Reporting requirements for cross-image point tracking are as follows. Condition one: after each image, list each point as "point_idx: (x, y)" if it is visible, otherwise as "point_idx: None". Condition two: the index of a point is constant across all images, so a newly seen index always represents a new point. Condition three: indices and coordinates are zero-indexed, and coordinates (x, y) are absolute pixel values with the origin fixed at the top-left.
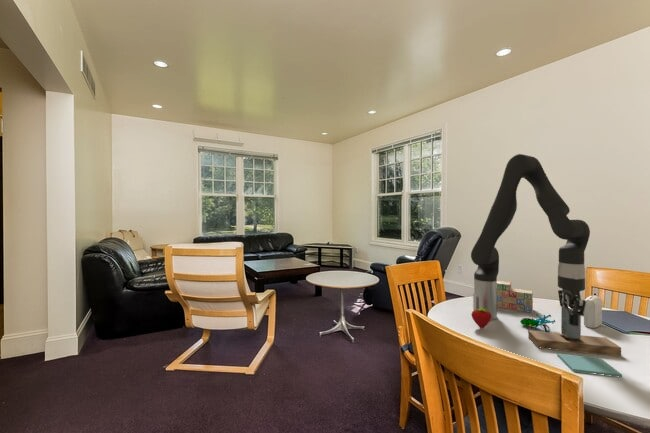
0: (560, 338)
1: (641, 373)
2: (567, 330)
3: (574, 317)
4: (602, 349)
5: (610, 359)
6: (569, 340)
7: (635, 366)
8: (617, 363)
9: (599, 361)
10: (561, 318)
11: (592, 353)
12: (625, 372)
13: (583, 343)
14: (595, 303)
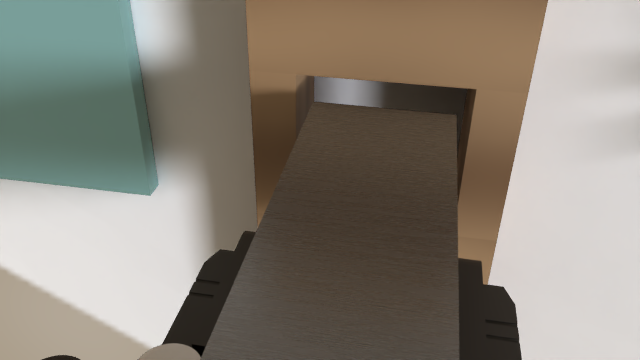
0: (351, 41)
1: (63, 291)
2: (294, 151)
3: (169, 341)
4: None
5: (209, 255)
6: (459, 153)
7: (153, 320)
8: (156, 256)
9: (79, 151)
10: (457, 235)
11: None
12: (31, 220)
13: (267, 196)
14: None
